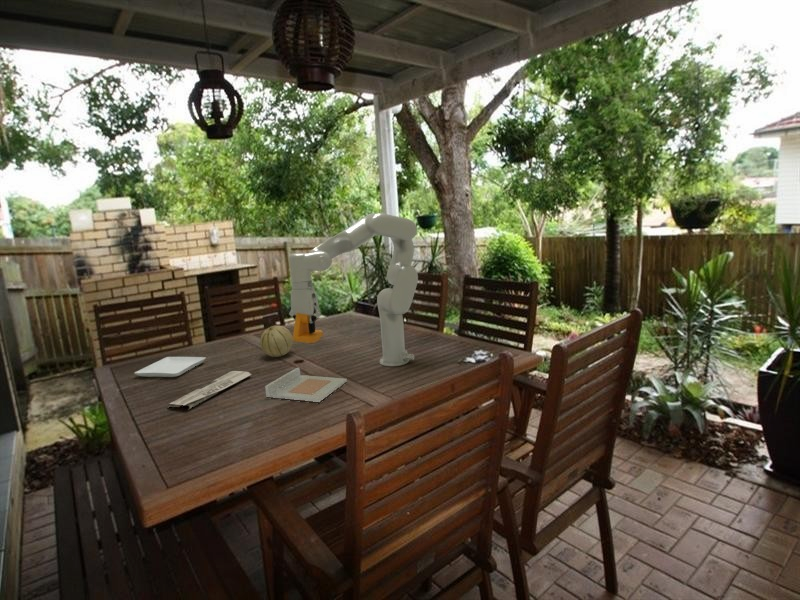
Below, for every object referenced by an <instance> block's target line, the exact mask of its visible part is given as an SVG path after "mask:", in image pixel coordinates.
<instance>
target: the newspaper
mask: <svg viewBox="0 0 800 600" xmlns="http://www.w3.org/2000/svg"><path fill="white" fill-rule="evenodd" d="M252 375H253V374H252V373H250V372H249V371H242V370H241V371H240V370H232V371H228V373H227V372H226V373H225V374H224V375H221V376H219V377H217V378H216V379H214V380H212V381H210V382H208V383H206V384H204V385H202V386H200V387H198V388H196V389H195V390H193V391H190V392H189V393H187V394H185V395H183V396H181V397H179V398H177V399H175V400H174V401H171V402H170V403H168V404H167V405H166V408H169V407H172V406H174V405H183V406H188V410H190V409H192V407H193V408H194V407H196V406H198V405H199V403H200V404H201V403H203V402H204V401H206V400H209V399H210V398H211V397H213V396H216V395H217V394H219V393H220V392H221V393H222V392H223V391H225V390H226V389H228V388H229V387H232V386H233V385H235V384H237V383H239V382H241V381H242V380H244V379H247V378H248V377H250V376H252Z"/></svg>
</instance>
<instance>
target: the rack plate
mask: <svg viewBox="0 0 800 600" xmlns="http://www.w3.org/2000/svg"><path fill="white" fill-rule="evenodd" d="M300 368H301V367H295V368H294V369H292V370H290V371H289V372H287V373H285V374H283V375H282V376H280V377H278V378H276V379H274V381H271V382H269V383H267V384H266V385H265V386H264V389H265V395H266V397H273V398H285V399H294V400H305V401H313V402H320V401H321V400H323V399H324V398H325V397H327V396H328V395H329V394H331V393H332V392H333V391H334V390H336V389H337V388H338V387H340V386H341V385H342V384H344V383H345V382H347V383H348V379H347V378H341V377H330V376H318V375H317V376H316V375H305V374H301V369H300ZM344 385H345V384H344ZM331 395H332V394H331ZM266 397H265V398H266Z"/></svg>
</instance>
